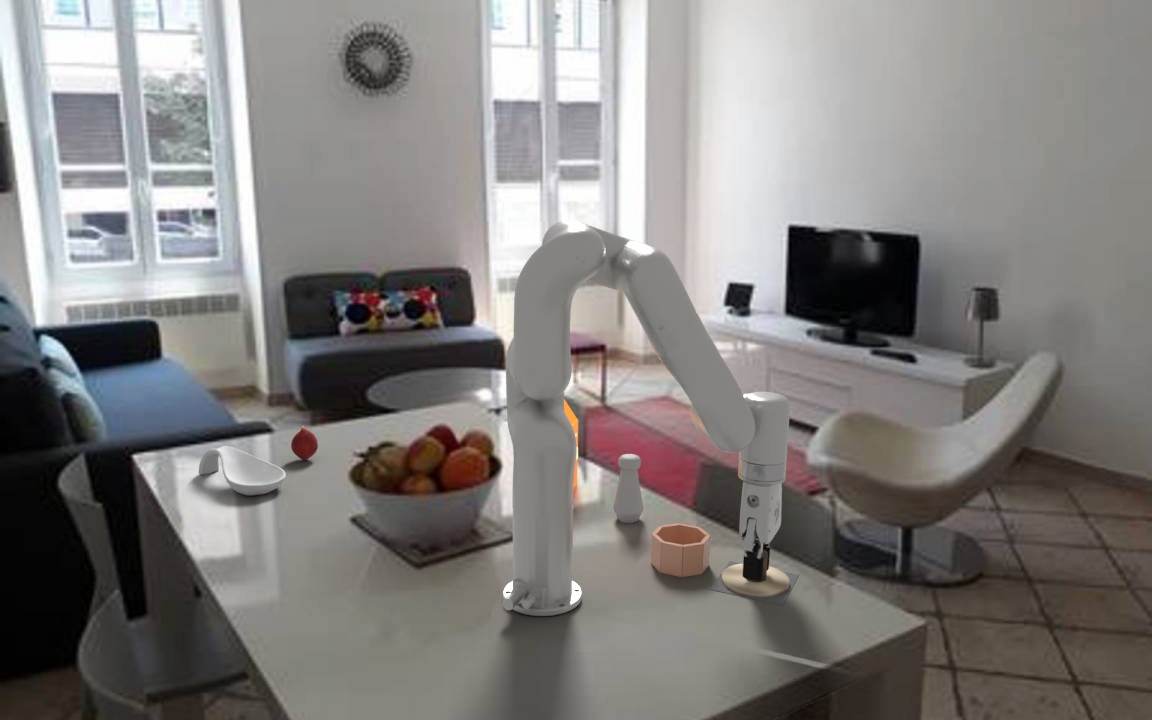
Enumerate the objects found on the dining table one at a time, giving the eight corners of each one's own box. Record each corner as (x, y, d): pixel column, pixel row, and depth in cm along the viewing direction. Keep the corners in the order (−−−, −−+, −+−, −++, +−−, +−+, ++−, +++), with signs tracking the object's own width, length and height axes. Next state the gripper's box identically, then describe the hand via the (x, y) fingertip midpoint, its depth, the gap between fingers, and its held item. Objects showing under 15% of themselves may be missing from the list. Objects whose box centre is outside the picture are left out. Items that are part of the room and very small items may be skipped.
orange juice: (577, 484, 202) (579, 394, 198) (566, 499, 194) (567, 405, 189) (543, 480, 204) (543, 391, 200) (530, 494, 196) (530, 402, 191)
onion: (323, 459, 216) (322, 425, 214) (304, 466, 211) (302, 431, 209) (306, 454, 219) (304, 421, 217) (286, 461, 214) (284, 427, 212)
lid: (780, 602, 149) (782, 571, 148) (713, 588, 154) (715, 558, 153) (795, 575, 159) (797, 546, 158) (732, 562, 164) (733, 534, 162)
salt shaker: (643, 514, 186) (645, 451, 183) (642, 525, 181) (644, 461, 178) (614, 512, 187) (615, 450, 184) (612, 524, 181) (613, 459, 178)
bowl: (697, 583, 157) (698, 549, 156) (645, 572, 161) (646, 539, 159) (713, 561, 165) (715, 529, 164) (663, 551, 169) (664, 520, 168)
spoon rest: (298, 489, 197) (296, 457, 196) (249, 506, 188) (247, 472, 186) (230, 466, 211) (228, 436, 209) (182, 481, 201) (179, 449, 200)
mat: (782, 608, 149) (782, 604, 149) (709, 592, 154) (709, 589, 154) (798, 578, 159) (799, 574, 159) (729, 564, 164) (730, 561, 164)
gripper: (773, 488, 143) (765, 599, 147) (796, 457, 158) (789, 559, 162) (725, 480, 146) (719, 589, 150) (752, 451, 161) (746, 550, 165)
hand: (755, 572), depth 156 cm, fingers closed on lid, 3 cm apart
